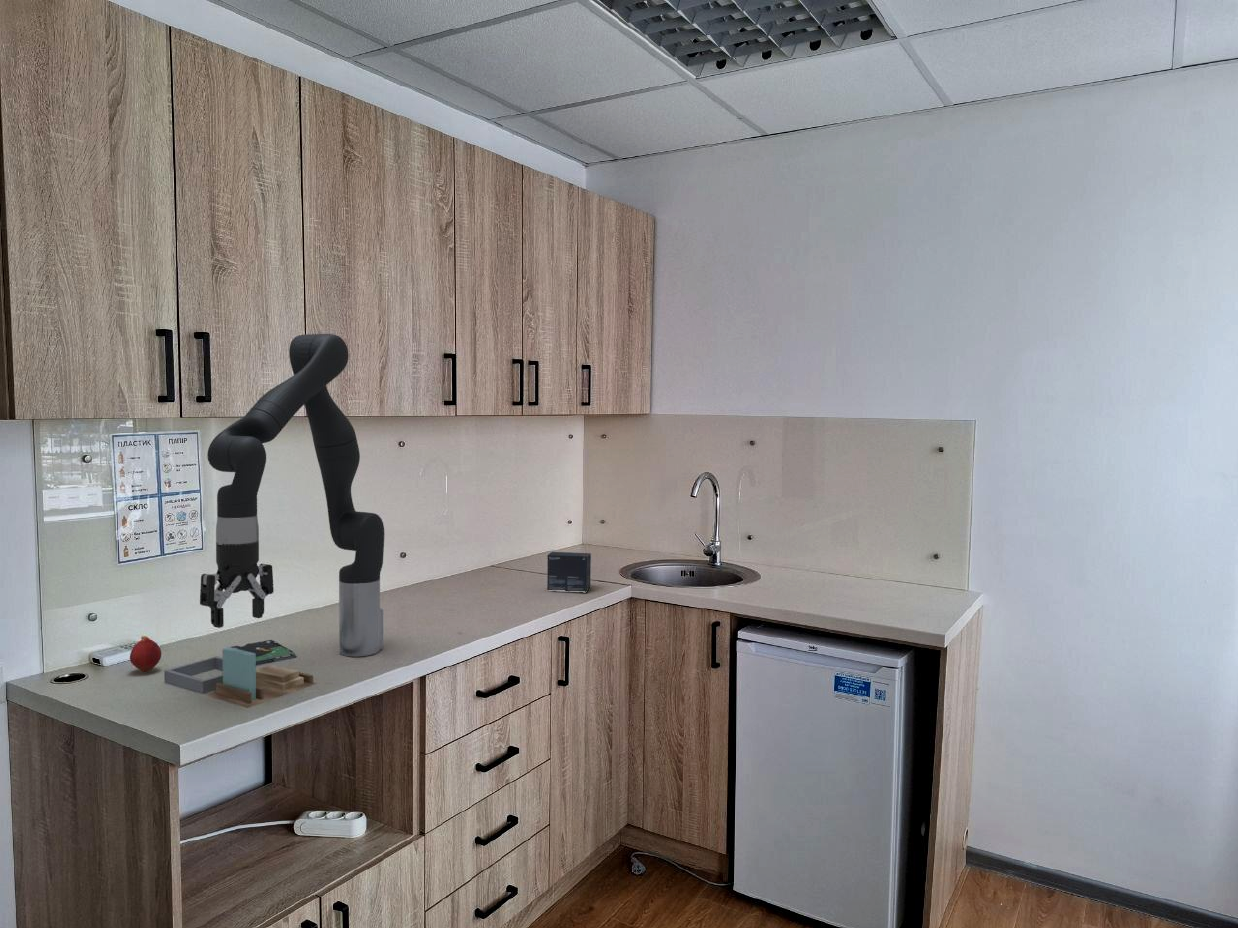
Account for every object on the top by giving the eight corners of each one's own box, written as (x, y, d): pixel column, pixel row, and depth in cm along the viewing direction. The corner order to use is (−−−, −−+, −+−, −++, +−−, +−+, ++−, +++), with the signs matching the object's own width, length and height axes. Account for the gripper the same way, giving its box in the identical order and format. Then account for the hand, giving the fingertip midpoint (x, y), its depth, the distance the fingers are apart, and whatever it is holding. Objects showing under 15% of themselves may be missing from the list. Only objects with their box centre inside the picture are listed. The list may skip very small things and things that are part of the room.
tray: (216, 672, 178) (216, 655, 178) (254, 682, 172) (254, 665, 171) (164, 687, 168) (164, 670, 167) (203, 699, 162) (202, 681, 161)
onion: (148, 666, 181) (147, 630, 180) (167, 669, 179) (167, 633, 178) (124, 674, 175) (123, 637, 175) (143, 677, 173) (142, 640, 173)
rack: (274, 677, 175) (274, 663, 175) (316, 688, 169) (316, 673, 168) (204, 700, 161) (204, 684, 161) (247, 713, 155) (247, 697, 154)
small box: (591, 589, 265) (591, 552, 265) (586, 594, 259) (587, 556, 258) (551, 587, 267) (551, 550, 267) (546, 591, 261) (546, 554, 260)
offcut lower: (274, 675, 173) (274, 669, 172) (303, 683, 168) (303, 677, 168) (253, 682, 168) (253, 676, 168) (283, 690, 164) (283, 684, 164)
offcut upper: (269, 671, 172) (269, 665, 172) (299, 676, 169) (299, 670, 169) (252, 677, 168) (252, 671, 168) (282, 683, 165) (282, 676, 165)
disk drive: (226, 659, 189) (251, 674, 178) (226, 647, 189) (250, 661, 178) (271, 650, 196) (298, 664, 186) (271, 638, 196) (297, 652, 186)
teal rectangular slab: (229, 691, 163) (228, 646, 162) (256, 698, 159) (255, 653, 158) (223, 693, 162) (222, 648, 161) (249, 701, 158) (249, 655, 157)
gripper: (257, 533, 166) (257, 612, 167) (190, 542, 154) (191, 627, 155) (281, 536, 163) (282, 617, 164) (216, 546, 150) (216, 633, 151)
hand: (238, 622), depth 159 cm, fingers open, 8 cm apart
